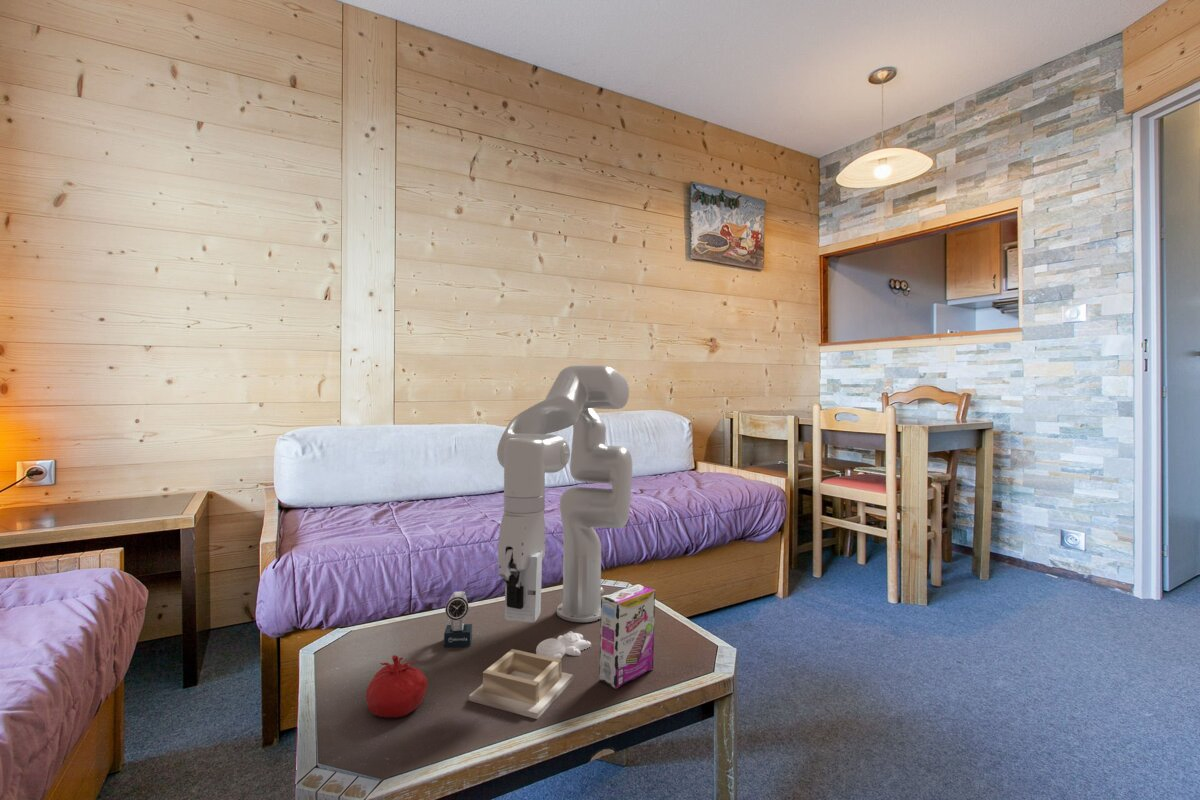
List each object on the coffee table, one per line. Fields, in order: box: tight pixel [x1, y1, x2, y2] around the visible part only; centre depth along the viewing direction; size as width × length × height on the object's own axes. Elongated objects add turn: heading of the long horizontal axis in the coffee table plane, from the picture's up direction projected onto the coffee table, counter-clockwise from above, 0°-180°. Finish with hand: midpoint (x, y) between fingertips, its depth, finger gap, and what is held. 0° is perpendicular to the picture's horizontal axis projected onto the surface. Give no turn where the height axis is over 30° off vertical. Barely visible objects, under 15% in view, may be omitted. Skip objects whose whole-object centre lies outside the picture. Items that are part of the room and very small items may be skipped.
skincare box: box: [503, 551, 543, 623], centre depth 102 cm, size 6×4×12 cm
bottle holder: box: [468, 648, 574, 720], centre depth 103 cm, size 14×14×4 cm
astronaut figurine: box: [535, 630, 592, 660], centre depth 119 cm, size 9×12×3 cm
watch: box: [443, 591, 473, 649], centre depth 122 cm, size 6×8×11 cm
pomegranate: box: [365, 654, 429, 719], centre depth 96 cm, size 10×10×9 cm
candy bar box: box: [598, 584, 656, 689], centre depth 108 cm, size 11×5×16 cm, turn 134°
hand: (523, 600), depth 102 cm, fingers closed on skincare box, 5 cm apart
